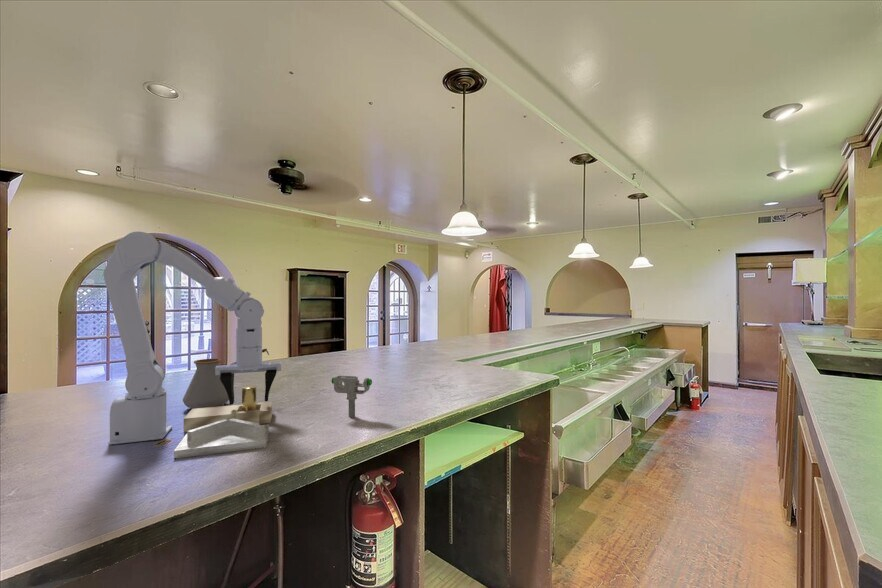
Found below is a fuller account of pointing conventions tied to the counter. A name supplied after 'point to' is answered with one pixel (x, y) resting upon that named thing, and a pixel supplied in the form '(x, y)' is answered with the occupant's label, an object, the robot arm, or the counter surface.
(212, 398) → the coffee pot
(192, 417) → the beam
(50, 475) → the counter surface
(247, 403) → the axle
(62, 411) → the counter surface
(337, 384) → the mechanical component
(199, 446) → the v-block
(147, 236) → the robot arm
